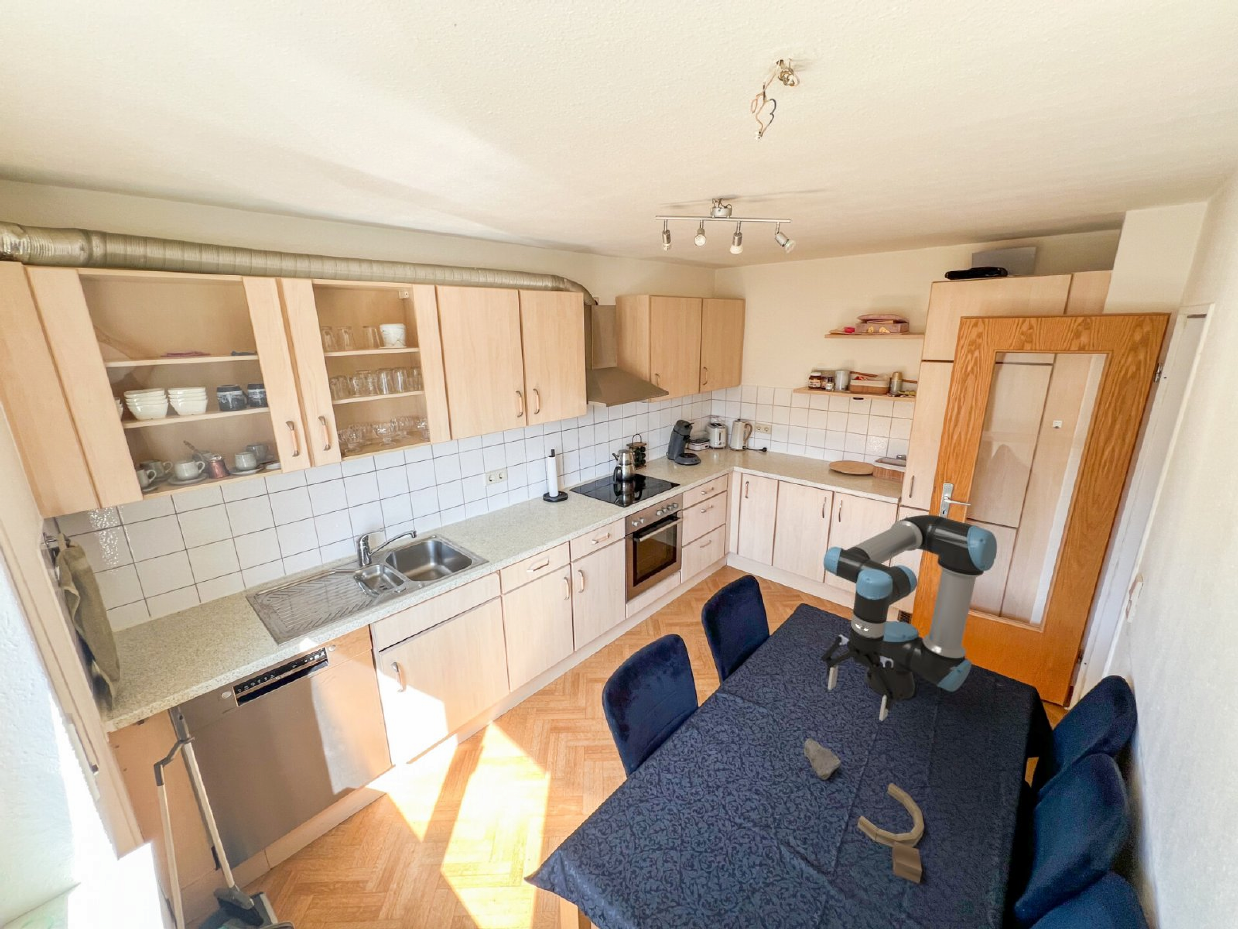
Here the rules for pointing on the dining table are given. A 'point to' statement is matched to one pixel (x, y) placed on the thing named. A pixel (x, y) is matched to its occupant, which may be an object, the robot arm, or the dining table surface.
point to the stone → (821, 759)
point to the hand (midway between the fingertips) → (856, 701)
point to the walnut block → (906, 862)
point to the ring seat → (888, 837)
